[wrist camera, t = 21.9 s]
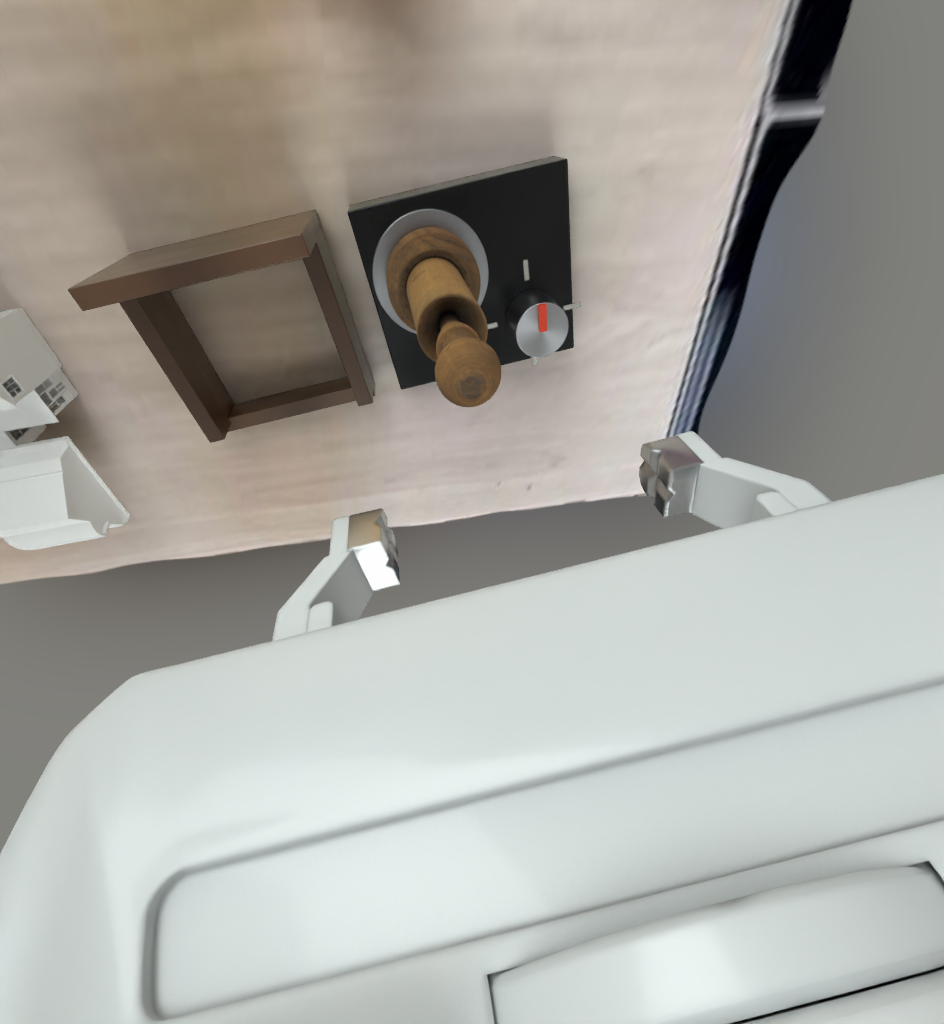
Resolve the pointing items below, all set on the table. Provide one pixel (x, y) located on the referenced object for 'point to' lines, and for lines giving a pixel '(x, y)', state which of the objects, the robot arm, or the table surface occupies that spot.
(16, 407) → the house model
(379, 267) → the burner
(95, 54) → the table surface
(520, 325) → the hob knob
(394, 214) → the hob
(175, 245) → the spice rack
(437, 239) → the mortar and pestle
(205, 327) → the table surface
